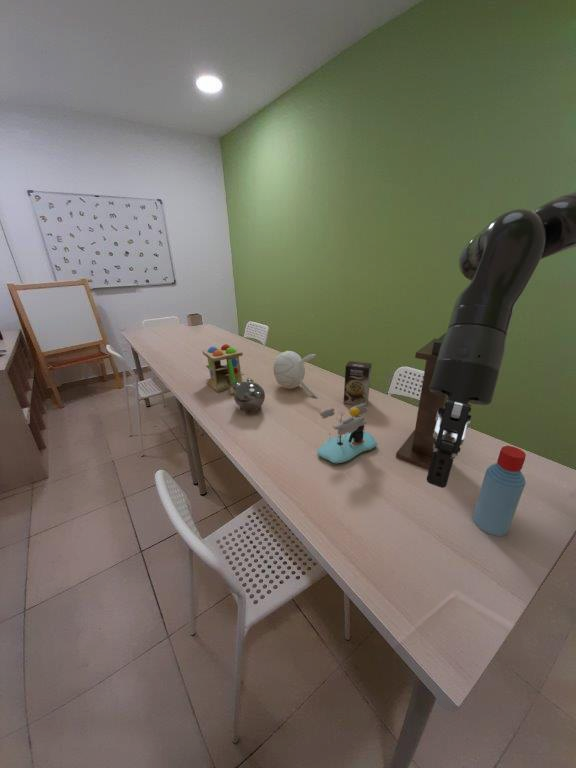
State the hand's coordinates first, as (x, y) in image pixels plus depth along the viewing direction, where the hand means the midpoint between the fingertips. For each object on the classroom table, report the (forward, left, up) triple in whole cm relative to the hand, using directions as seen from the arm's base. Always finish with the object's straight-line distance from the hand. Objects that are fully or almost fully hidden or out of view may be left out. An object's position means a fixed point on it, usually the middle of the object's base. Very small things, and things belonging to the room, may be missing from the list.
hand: (435, 480), depth 40 cm
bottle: (-8, -28, -27) cm, 39 cm away
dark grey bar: (+11, -52, +5) cm, 53 cm away
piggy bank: (+73, -33, -27) cm, 85 cm away
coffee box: (+43, -63, -27) cm, 81 cm away
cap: (-8, -28, -11) cm, 31 cm away
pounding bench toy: (+97, -43, -27) cm, 109 cm away
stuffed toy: (+70, -58, -27) cm, 95 cm away
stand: (+11, -47, -27) cm, 55 cm away
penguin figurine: (+30, -33, -27) cm, 52 cm away
